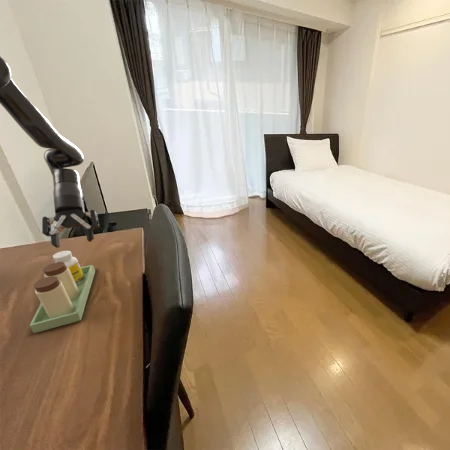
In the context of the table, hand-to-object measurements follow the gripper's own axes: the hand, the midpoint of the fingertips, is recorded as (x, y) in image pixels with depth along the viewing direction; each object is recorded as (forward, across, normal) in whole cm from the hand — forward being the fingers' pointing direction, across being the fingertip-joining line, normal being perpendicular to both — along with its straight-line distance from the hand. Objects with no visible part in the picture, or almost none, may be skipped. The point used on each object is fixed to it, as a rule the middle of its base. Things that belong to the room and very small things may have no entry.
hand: (73, 243), depth 87 cm
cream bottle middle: (+18, 0, -8) cm, 20 cm away
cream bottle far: (+23, 0, -13) cm, 26 cm away
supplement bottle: (+13, 0, -3) cm, 13 cm away
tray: (+18, 0, -8) cm, 20 cm away
